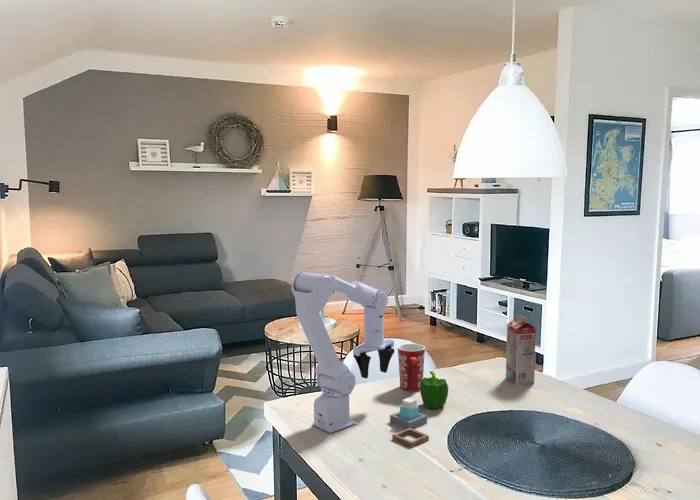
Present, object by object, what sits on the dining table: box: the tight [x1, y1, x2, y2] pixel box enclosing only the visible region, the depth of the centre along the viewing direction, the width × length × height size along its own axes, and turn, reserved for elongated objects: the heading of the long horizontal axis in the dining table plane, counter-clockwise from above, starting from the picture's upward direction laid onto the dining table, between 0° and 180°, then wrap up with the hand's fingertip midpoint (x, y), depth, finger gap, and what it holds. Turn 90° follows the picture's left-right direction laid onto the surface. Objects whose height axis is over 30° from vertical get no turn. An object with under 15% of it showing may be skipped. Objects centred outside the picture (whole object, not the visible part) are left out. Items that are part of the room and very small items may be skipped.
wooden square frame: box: [391, 428, 430, 448], centre depth 152 cm, size 7×7×1 cm
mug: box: [396, 343, 426, 392], centre depth 188 cm, size 13×9×14 cm
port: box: [389, 411, 428, 430], centre depth 163 cm, size 7×7×2 cm
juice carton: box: [505, 313, 536, 386], centre depth 195 cm, size 7×7×22 cm
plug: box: [399, 397, 420, 421], centre depth 163 cm, size 4×4×6 cm
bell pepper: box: [419, 370, 449, 409], centre depth 175 cm, size 8×8×10 cm
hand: (374, 374), depth 174 cm, fingers open, 7 cm apart
